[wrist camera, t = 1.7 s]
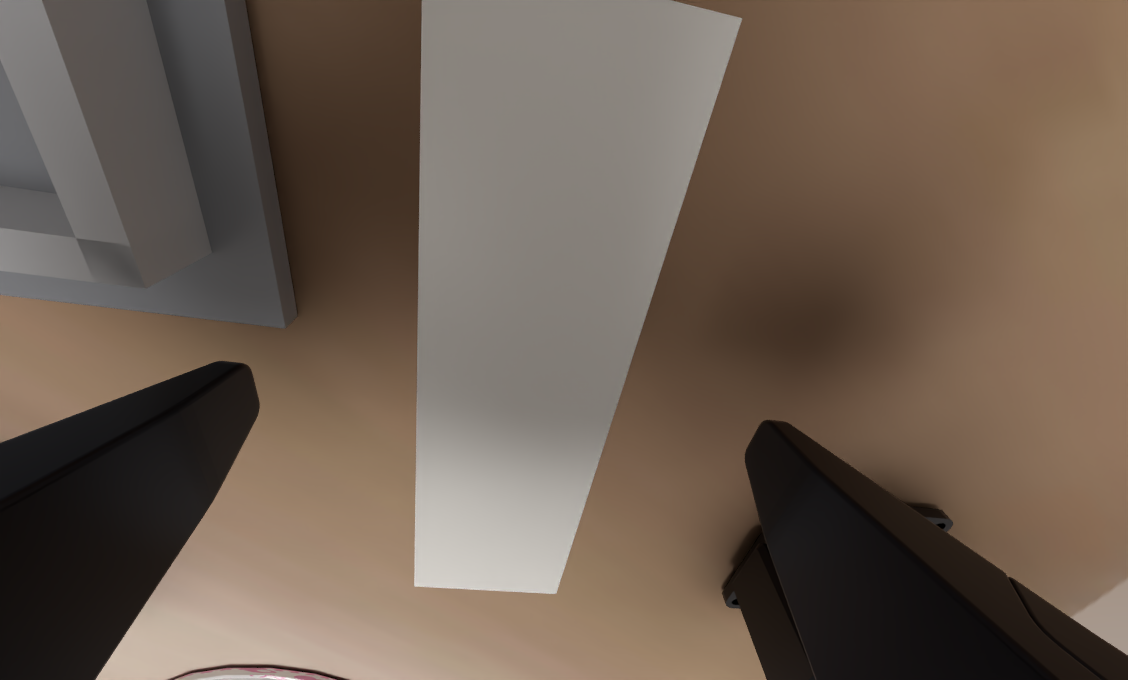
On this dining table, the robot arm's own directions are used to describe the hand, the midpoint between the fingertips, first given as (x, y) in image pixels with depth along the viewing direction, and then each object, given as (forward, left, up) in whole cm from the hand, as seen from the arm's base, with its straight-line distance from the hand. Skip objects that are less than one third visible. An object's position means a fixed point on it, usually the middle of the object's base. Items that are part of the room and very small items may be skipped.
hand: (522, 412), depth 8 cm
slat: (0, 0, -4) cm, 4 cm away
